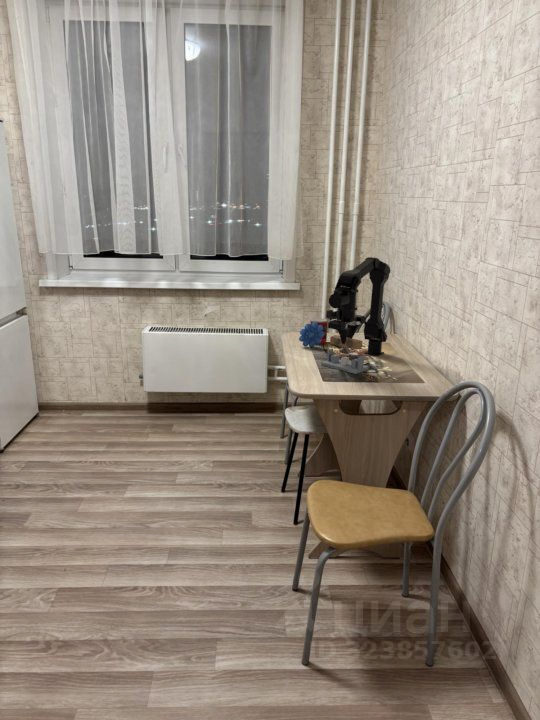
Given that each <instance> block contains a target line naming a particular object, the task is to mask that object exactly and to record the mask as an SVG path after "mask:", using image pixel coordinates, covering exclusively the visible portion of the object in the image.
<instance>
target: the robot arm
mask: <svg viewBox="0 0 540 720" xmlns="http://www.w3.org/2000/svg"><path fill="white" fill-rule="evenodd" d="M390 273H391V267H390V266H389V265H388V264H387V263H386V262H384V261H381V260H380V259H379V258H378V257H369V256H368V257H366V258H364V260H363V261H362V262H360V264H358V265H357V266H356V267H354V268H353V269H348V270H346V271H343V272H342V273H340V276H338V280H337V282H336V284H335V287H334V290H333V293H332V294H331V295H330V296H329V298H328V304H329V306H330V307H331V308H332V309H330V310H326V313H325V314H326V315H325V317H326V319H327V320H328V321H327V329H331V330H336V331H338V336H340V338H341V342H342V344H345V342H346V339H347V338H352V339H354V336H355V334H356V332H357V331H358V330H359V328H360V327H361V325H363V324H364V325H363V327H364V328H363V338H364V340H366V341H367V340H368V343H367V351H364V354H365V355H371V356H374V357H376V356H377V357H378V356H380V355H384V354H385V351H383V350H382V348H383V343H386V342H387V340H388V334H387V332H386V330H385V323H384V321H383V319H382V311H383V310H382V309H383V301H384V299H383V298H384V288H385V284H386V283H387V281H388V280H389V279H390ZM368 274H369V275H368ZM366 275H368V277H369V279H370V282H371V284H372V285H371V286H372V287H371V295H370V296H371V299H370V309H369V318H368V319H367V317H366V316H365V315H361V314H356V311H358V307H357V306H356V302H357V293H359V289H358V287H359V286H360V285H361V284H362V279H363V278H364V277H365V276H366ZM333 309H337V310H333ZM358 322H359V323H360V324H361V325H360V324H358Z"/></svg>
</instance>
